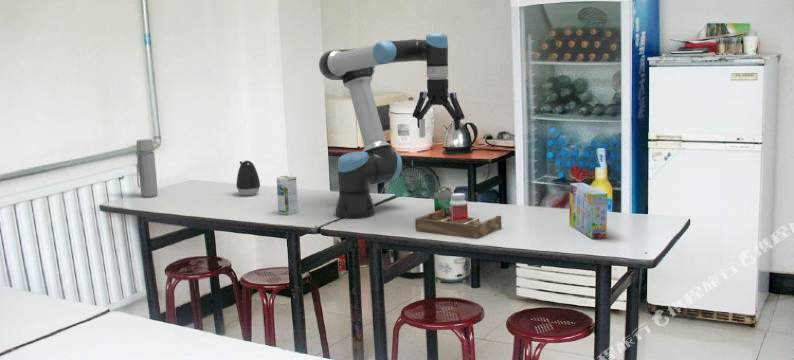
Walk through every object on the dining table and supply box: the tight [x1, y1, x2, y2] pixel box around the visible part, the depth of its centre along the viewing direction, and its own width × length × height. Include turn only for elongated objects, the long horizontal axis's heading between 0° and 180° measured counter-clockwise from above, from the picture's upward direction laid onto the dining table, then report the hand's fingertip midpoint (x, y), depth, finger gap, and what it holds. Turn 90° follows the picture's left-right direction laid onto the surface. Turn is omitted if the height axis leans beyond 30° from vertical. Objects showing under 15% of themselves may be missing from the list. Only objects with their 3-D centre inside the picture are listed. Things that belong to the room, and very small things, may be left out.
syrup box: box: [276, 175, 299, 216], centre depth 329 cm, size 6×6×14 cm
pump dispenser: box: [236, 160, 261, 197], centre depth 369 cm, size 10×10×15 cm
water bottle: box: [135, 138, 159, 198], centre depth 373 cm, size 9×8×25 cm
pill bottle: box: [449, 192, 469, 223], centre depth 294 cm, size 6×6×11 cm
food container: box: [433, 186, 454, 218], centre depth 316 cm, size 12×6×10 cm, turn 168°
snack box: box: [568, 182, 608, 240], centre depth 284 cm, size 21×6×15 cm, turn 9°
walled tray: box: [414, 209, 502, 239], centre depth 294 cm, size 17×24×4 cm
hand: (438, 138), depth 302 cm, fingers open, 13 cm apart
